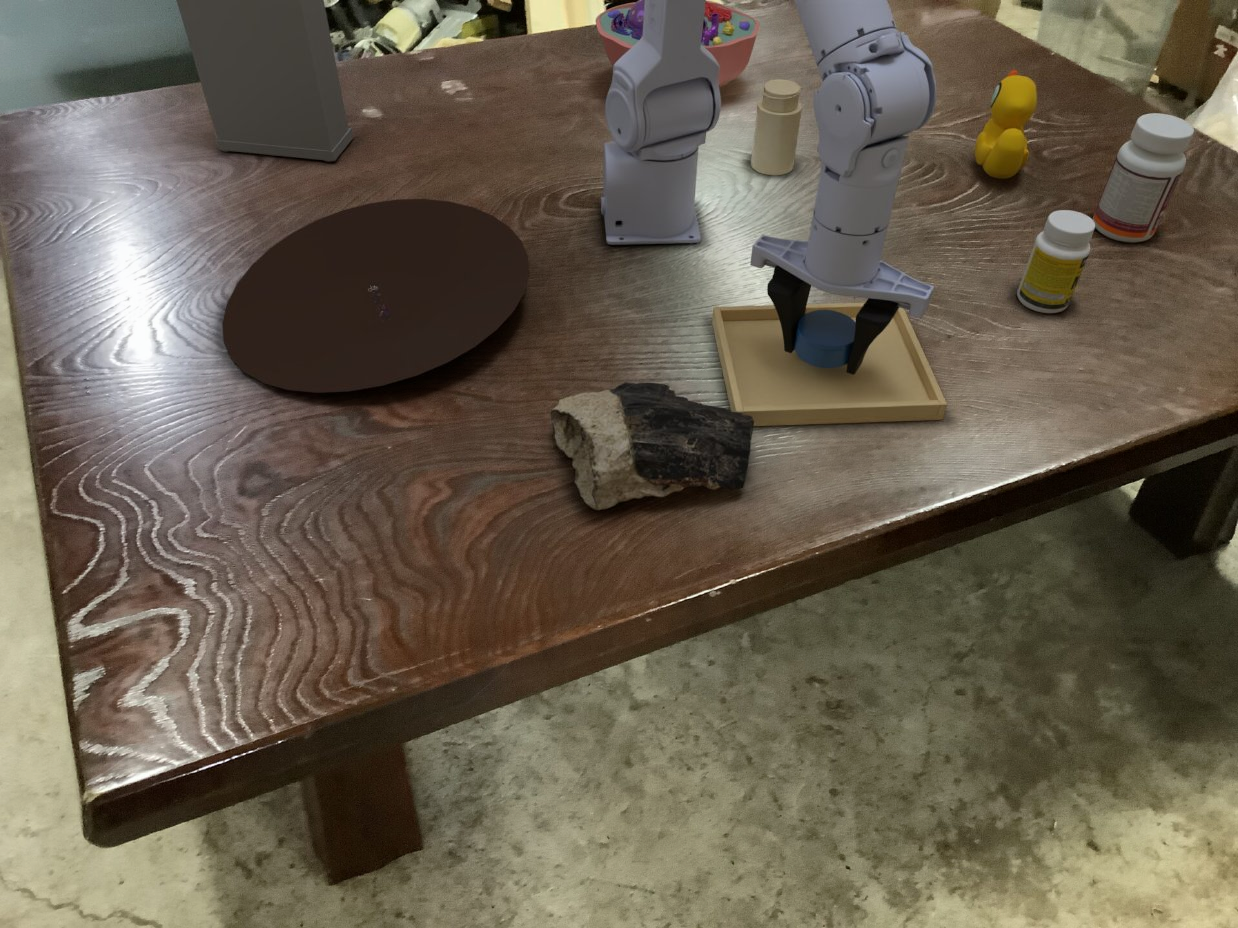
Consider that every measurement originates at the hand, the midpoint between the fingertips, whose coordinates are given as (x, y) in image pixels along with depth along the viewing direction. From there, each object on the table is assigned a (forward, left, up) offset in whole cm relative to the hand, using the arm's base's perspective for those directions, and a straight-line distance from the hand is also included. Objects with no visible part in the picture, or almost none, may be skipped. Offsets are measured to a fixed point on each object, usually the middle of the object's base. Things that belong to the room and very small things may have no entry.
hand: (822, 356), depth 84 cm
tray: (0, 0, -1) cm, 1 cm away
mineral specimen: (-15, -10, -1) cm, 18 cm away
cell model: (-7, +56, -1) cm, 56 cm away
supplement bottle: (+23, +9, -1) cm, 25 cm away
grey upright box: (-53, +43, -1) cm, 68 cm away
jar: (+2, +36, -1) cm, 36 cm away
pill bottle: (+36, +21, -1) cm, 42 cm away
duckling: (+27, +34, -1) cm, 43 cm away
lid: (0, 0, +3) cm, 3 cm away
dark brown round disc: (-39, +11, -1) cm, 41 cm away
